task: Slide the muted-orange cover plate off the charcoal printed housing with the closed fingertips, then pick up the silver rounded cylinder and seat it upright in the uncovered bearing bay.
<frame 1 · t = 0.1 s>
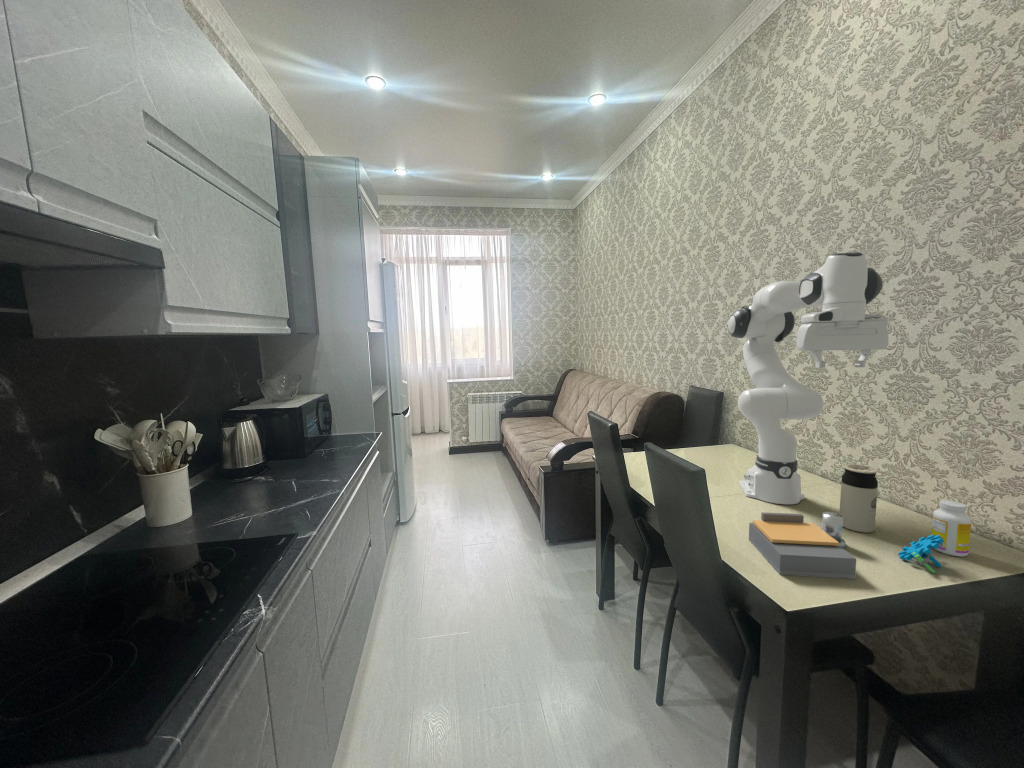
hand: (839, 367, 106), 48 cm above the table, fingers open, 8 cm apart
travel mug: (856, 527, 117), on the table
lid: (792, 527, 104), point 7 cm above the table, slide at 0.0 cm
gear: (919, 563, 98), on the table
supplement bottle: (948, 551, 103), on the table
housing: (796, 557, 102), on the table
silver rounded cylinder: (830, 543, 109), on the table
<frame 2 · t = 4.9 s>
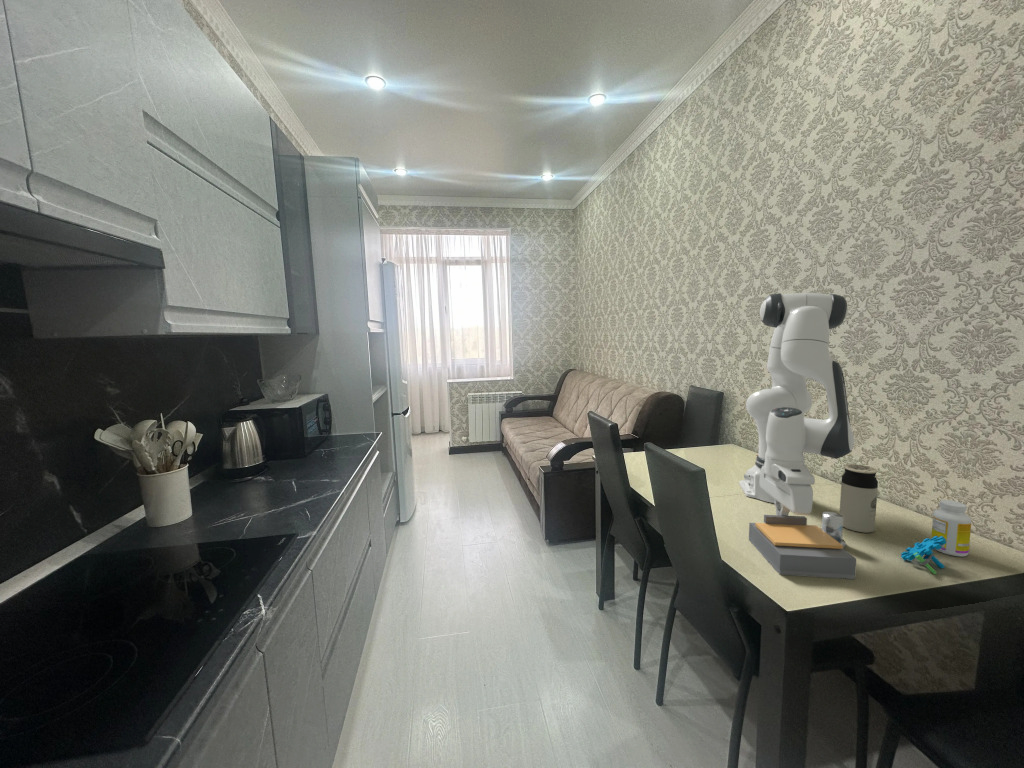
hand: (781, 516, 109), 7 cm above the table, fingers closed
lid: (795, 530, 102), point 7 cm above the table, slide at 1.5 cm, touching gripper
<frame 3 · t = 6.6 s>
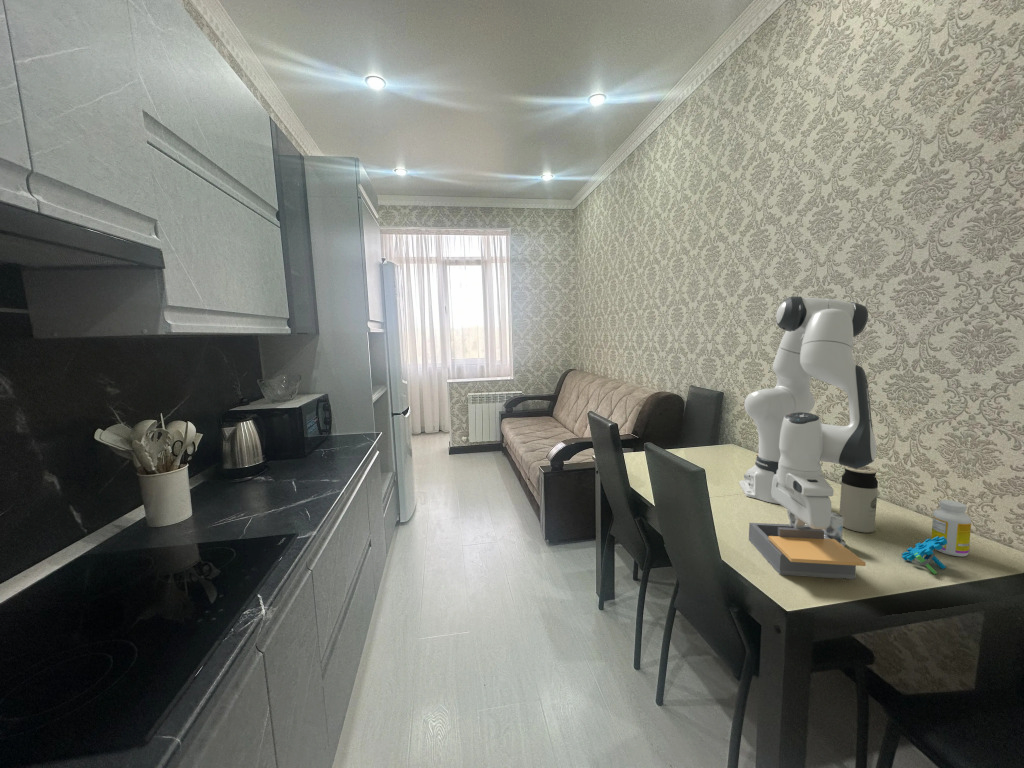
hand: (796, 529, 102), 7 cm above the table, fingers closed
lid: (812, 544, 95), point 7 cm above the table, slide at 9.0 cm, touching gripper
everything else where it was.
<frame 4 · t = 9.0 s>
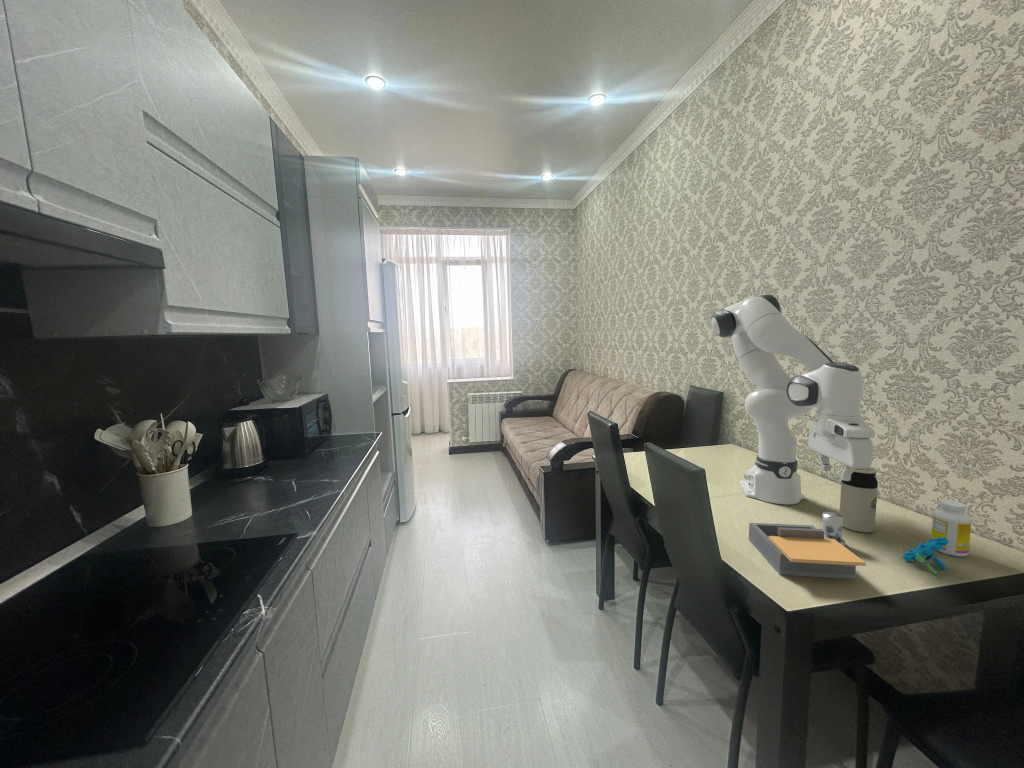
hand: (835, 475, 107), 19 cm above the table, fingers open, 6 cm apart
lid: (812, 545, 95), point 7 cm above the table, slide at 9.0 cm
everything else where it was.
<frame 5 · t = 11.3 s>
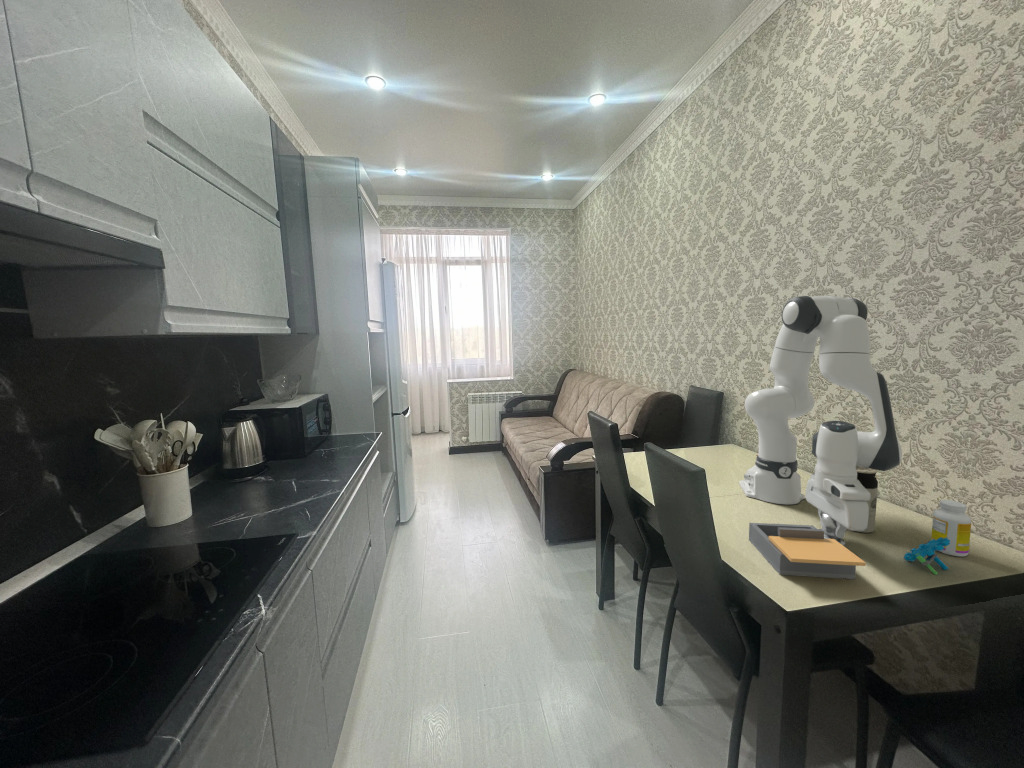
hand: (831, 531, 108), 3 cm above the table, fingers closed on silver rounded cylinder, 4 cm apart
silver rounded cylinder: (830, 543, 109), on the table, touching gripper
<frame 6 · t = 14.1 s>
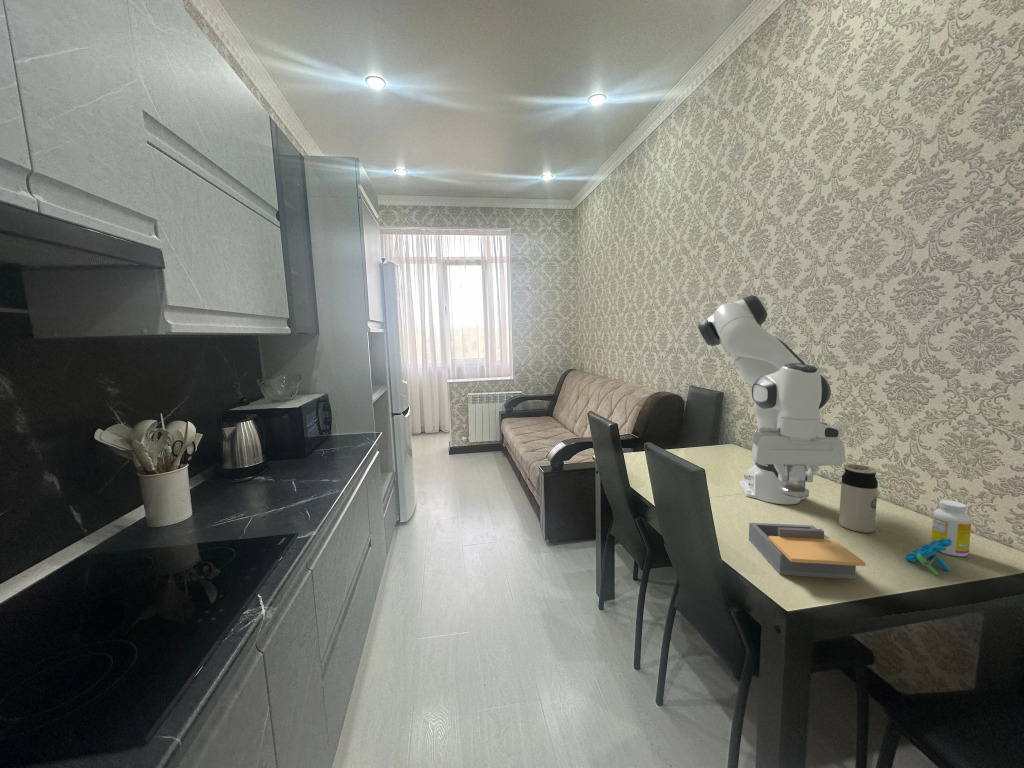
hand: (795, 481, 102), 19 cm above the table, fingers closed on silver rounded cylinder, 4 cm apart
silver rounded cylinder: (794, 493, 103), point 16 cm above the table, touching gripper
when the fingers open (6 cm above the table, at t = 16.7 s): silver rounded cylinder drops 2 cm, resting on housing.
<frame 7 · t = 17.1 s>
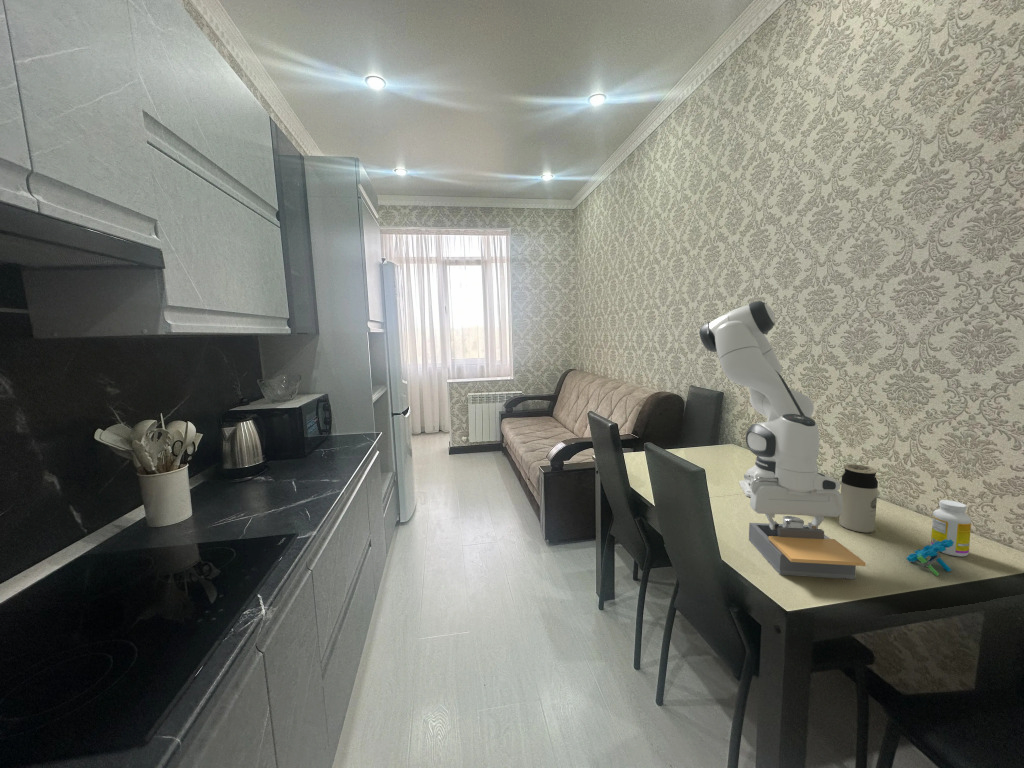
hand: (793, 529, 103), 6 cm above the table, fingers open, 8 cm apart
silver rounded cylinder: (791, 549, 104), point 1 cm above the table, touching housing
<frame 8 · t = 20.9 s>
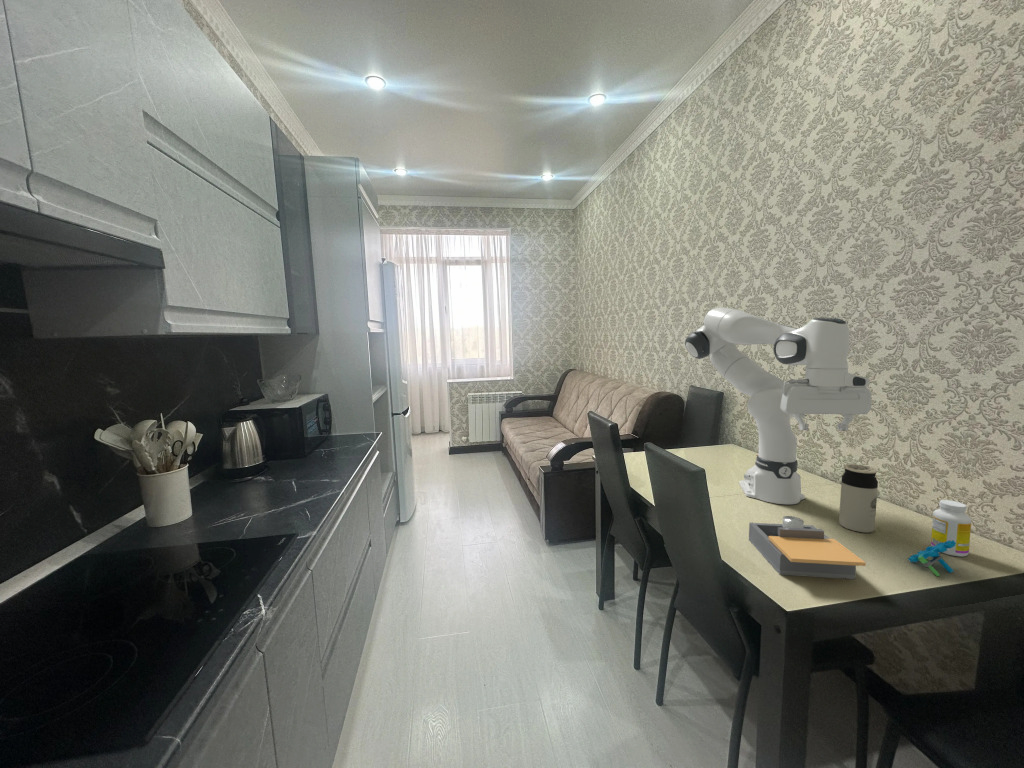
hand: (822, 430, 107), 31 cm above the table, fingers open, 8 cm apart
at the end: lid slide at 9.0 cm; silver rounded cylinder inside the target area on the housing (0.1 cm from its centre), point 1.0 cm above the housing's base; silver rounded cylinder tilted 1° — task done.
